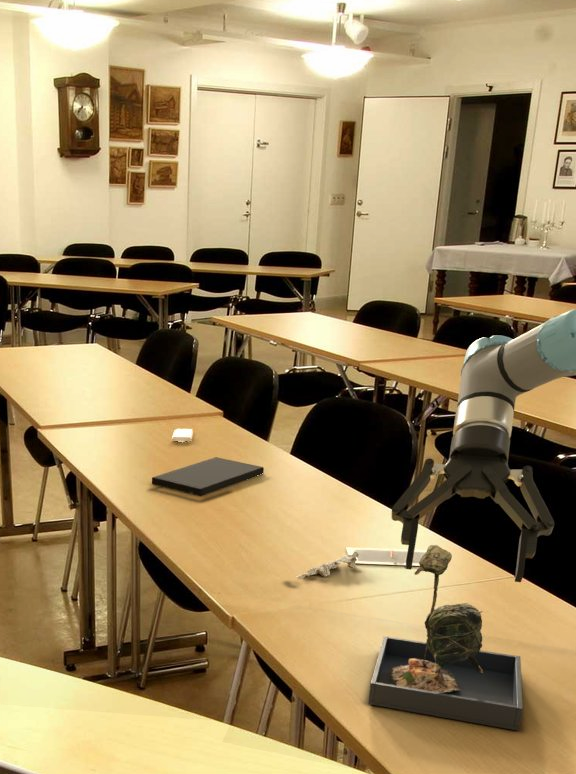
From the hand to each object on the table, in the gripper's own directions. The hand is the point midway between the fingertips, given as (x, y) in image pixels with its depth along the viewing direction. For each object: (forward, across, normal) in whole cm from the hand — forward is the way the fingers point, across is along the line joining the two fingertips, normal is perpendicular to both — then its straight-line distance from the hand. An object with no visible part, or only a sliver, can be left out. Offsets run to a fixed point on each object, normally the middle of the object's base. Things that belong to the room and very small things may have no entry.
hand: (462, 571), depth 122 cm
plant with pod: (+16, +2, -2) cm, 16 cm away
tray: (+16, 0, -2) cm, 16 cm away
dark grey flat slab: (-44, +55, -62) cm, 94 cm away
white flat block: (-64, +70, -81) cm, 125 cm away
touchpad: (-17, +11, -36) cm, 41 cm away
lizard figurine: (-9, +21, -27) cm, 35 cm away
